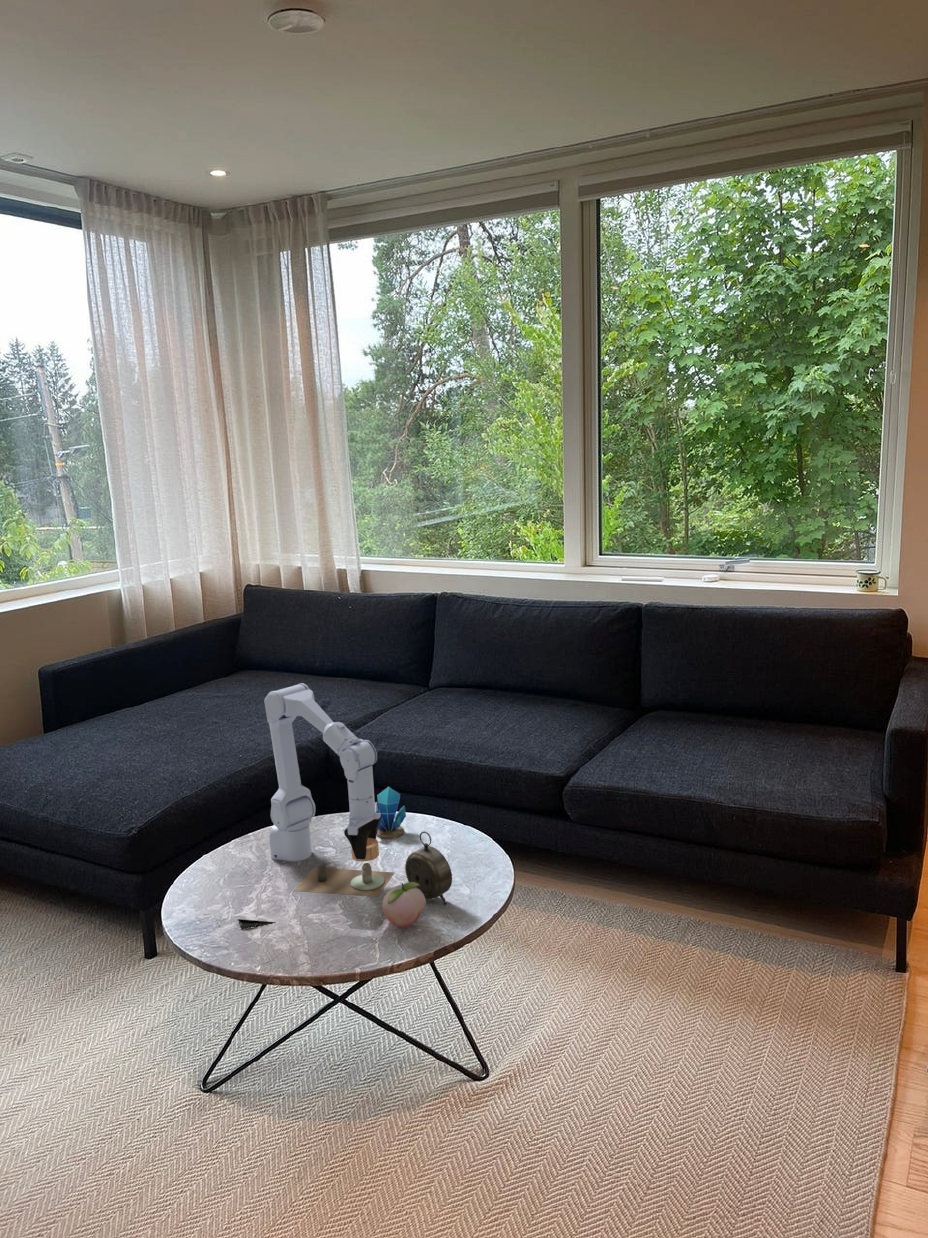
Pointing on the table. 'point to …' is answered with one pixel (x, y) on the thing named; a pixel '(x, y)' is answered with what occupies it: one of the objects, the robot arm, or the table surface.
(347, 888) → the stand board
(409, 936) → the table surface
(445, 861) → the alarm clock
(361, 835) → the robot arm
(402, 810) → the gemstone
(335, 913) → the table surface
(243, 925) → the black wedge
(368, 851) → the ring
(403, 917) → the decorative fruit
